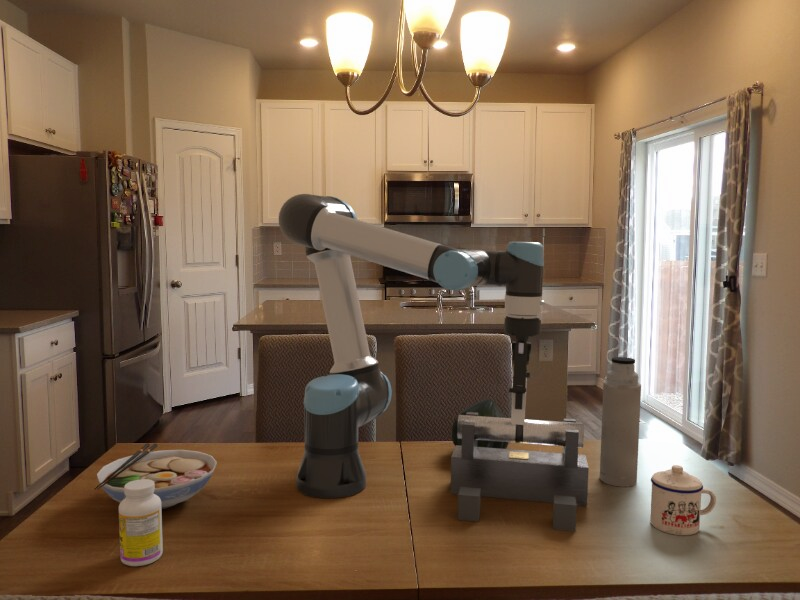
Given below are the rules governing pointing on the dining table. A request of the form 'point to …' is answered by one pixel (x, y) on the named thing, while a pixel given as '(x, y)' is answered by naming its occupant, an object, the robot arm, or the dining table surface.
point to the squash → (486, 410)
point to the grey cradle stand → (520, 470)
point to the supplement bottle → (140, 524)
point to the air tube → (520, 430)
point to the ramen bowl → (159, 473)
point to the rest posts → (561, 508)
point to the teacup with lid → (678, 501)
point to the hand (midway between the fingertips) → (518, 415)
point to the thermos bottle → (620, 424)
